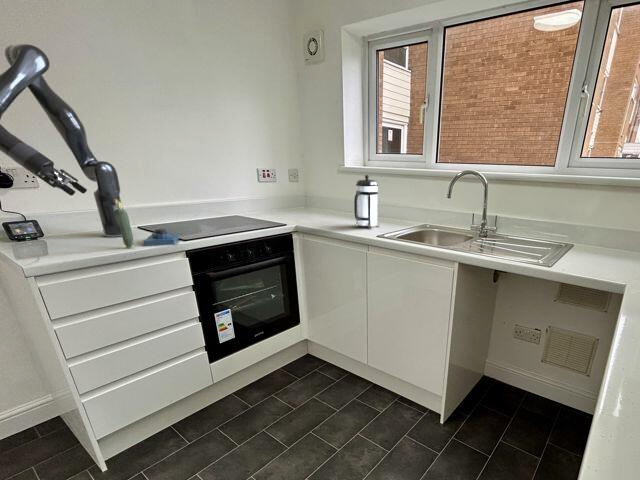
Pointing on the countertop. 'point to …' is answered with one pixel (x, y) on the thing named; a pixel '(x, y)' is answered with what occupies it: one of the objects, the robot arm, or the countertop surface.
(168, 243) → the button box
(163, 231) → the button
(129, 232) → the vegetable
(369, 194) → the coffee press
